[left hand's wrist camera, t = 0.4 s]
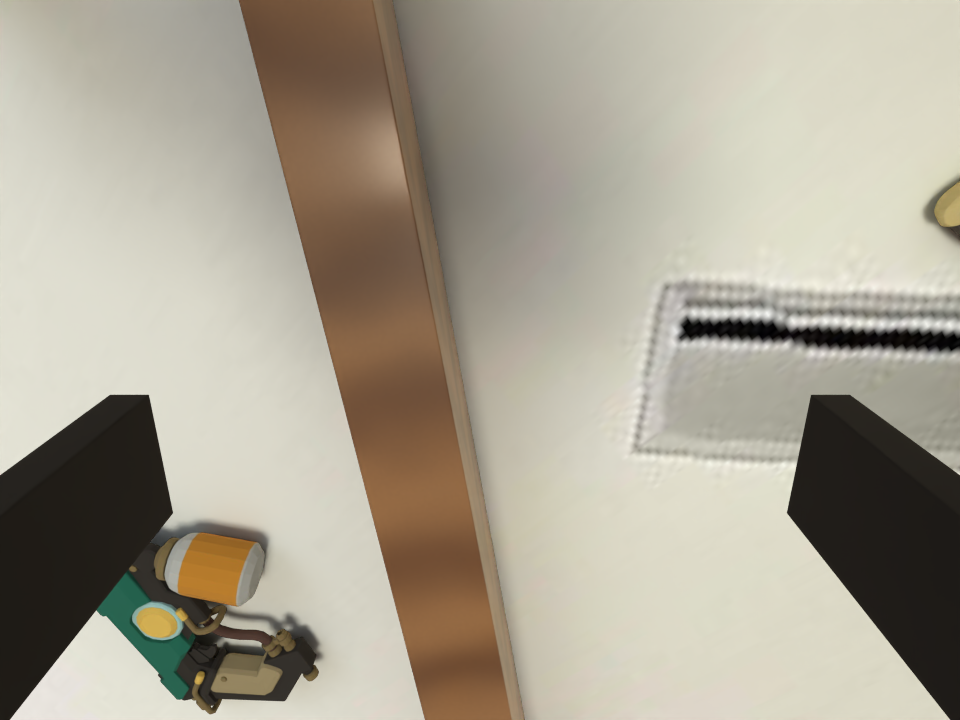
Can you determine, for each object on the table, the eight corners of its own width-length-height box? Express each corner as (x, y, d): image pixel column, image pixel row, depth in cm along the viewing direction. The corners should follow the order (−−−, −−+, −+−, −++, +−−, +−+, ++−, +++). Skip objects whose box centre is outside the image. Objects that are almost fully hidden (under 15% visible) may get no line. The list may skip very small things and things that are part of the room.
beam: (258, -128, 31) (182, -217, 23) (365, -149, 31) (325, -247, 23) (484, 835, 56) (485, 953, 48) (544, 829, 55) (555, 946, 47)
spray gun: (333, 671, 50) (154, 686, 51) (275, 501, 43) (71, 522, 44) (318, 721, 46) (126, 736, 47) (253, 542, 39) (30, 565, 40)
